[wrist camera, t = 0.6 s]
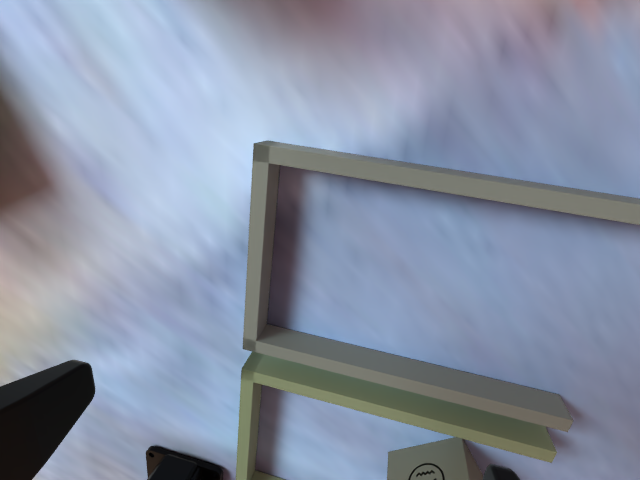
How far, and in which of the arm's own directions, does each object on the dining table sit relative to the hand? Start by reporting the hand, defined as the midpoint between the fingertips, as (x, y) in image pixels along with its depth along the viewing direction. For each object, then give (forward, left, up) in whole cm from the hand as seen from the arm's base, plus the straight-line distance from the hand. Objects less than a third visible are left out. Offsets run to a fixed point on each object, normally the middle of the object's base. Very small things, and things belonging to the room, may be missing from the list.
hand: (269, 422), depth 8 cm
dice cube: (-15, -9, -13) cm, 22 cm away
